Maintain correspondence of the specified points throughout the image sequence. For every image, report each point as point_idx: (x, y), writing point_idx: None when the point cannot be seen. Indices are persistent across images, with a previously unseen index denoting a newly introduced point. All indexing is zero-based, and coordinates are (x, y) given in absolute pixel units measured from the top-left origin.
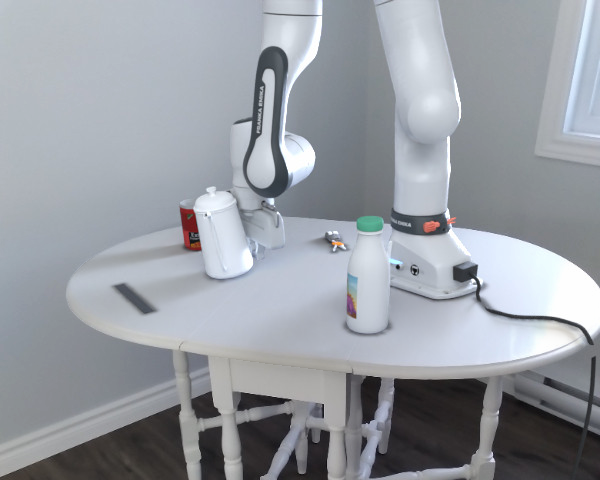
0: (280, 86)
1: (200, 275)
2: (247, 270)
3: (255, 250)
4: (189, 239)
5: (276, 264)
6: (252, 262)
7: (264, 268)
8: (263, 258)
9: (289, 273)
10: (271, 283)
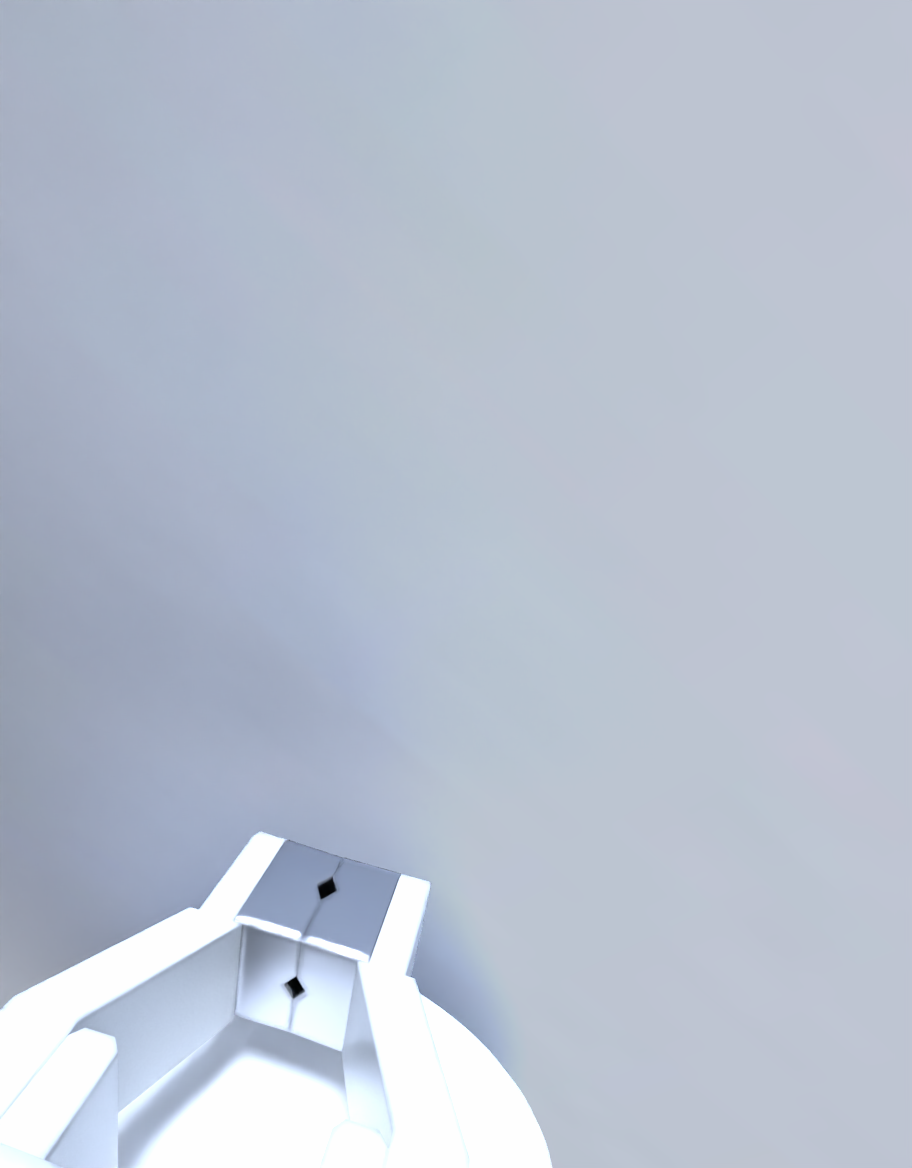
0: None
1: None
2: (545, 1142)
3: (273, 997)
4: None
5: (468, 615)
6: (482, 1096)
7: (464, 791)
8: (429, 882)
9: (865, 747)
10: (886, 1059)
